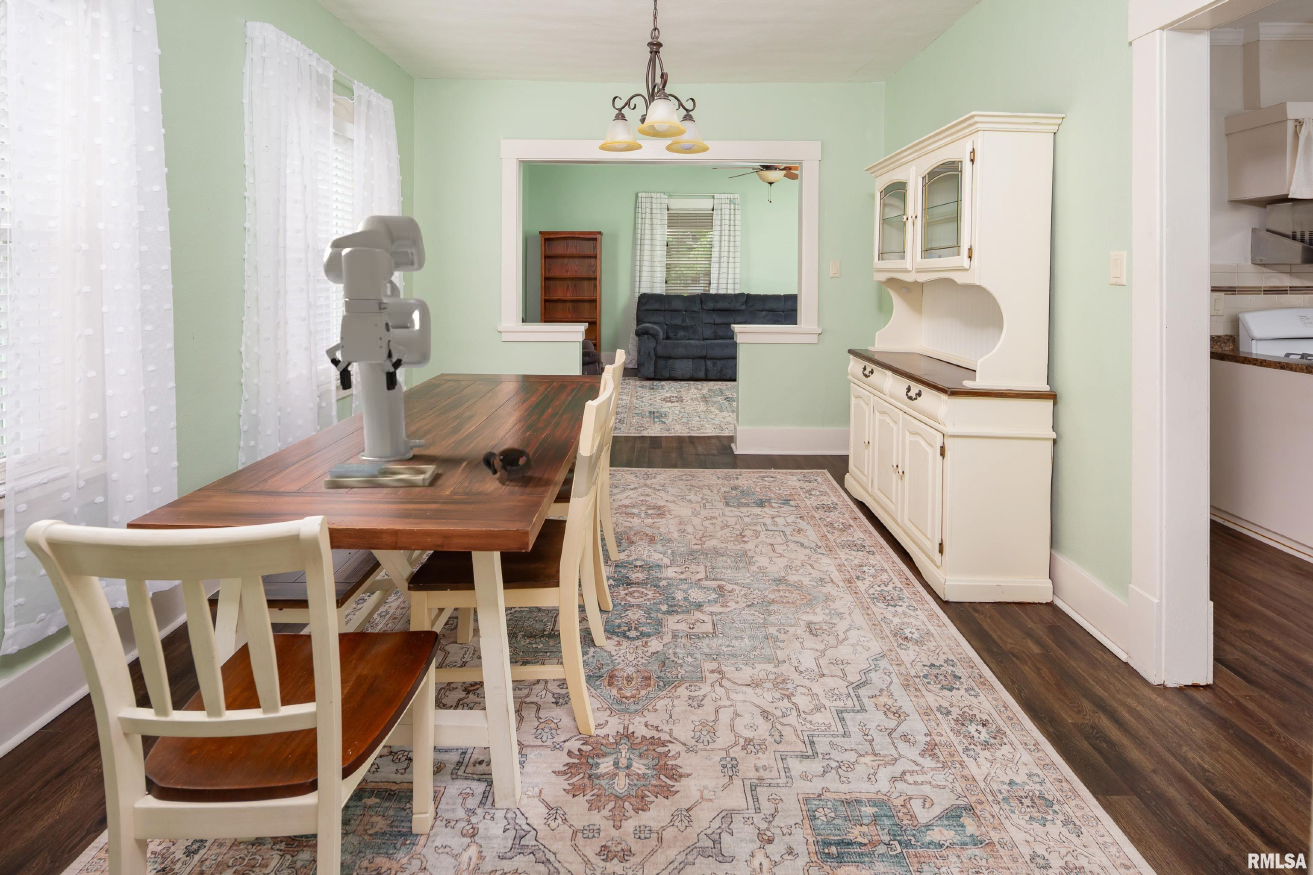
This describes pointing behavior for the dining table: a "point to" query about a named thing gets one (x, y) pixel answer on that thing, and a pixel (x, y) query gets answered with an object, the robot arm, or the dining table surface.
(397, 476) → the tray
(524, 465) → the pottery mug
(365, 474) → the cover plate
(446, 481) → the dining table surface
